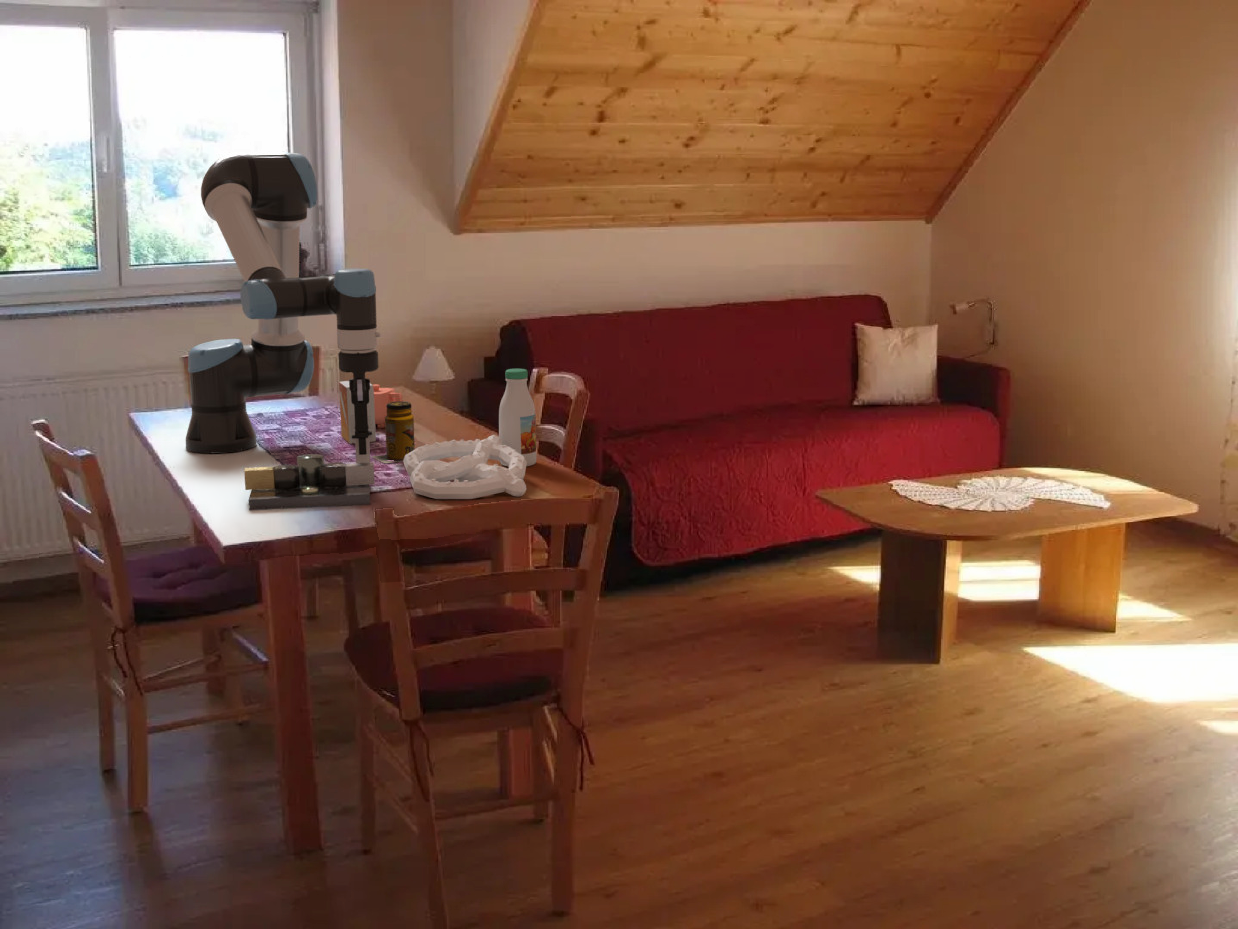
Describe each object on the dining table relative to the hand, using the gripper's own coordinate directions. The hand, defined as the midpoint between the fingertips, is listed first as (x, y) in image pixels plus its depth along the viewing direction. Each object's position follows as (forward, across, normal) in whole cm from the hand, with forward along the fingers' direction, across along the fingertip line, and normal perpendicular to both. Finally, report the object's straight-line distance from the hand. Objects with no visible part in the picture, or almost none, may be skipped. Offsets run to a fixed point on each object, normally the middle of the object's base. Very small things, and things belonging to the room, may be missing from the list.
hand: (363, 469), depth 275 cm
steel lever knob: (+1, -6, +3) cm, 7 cm away
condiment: (+4, +25, -7) cm, 26 cm away
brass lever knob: (+1, -6, +17) cm, 18 cm away
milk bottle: (+4, +15, -32) cm, 35 cm away
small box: (+4, +46, +1) cm, 46 cm away
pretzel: (+4, -1, -20) cm, 21 cm away
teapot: (+4, +63, -3) cm, 63 cm away
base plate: (+4, -6, +10) cm, 12 cm away
